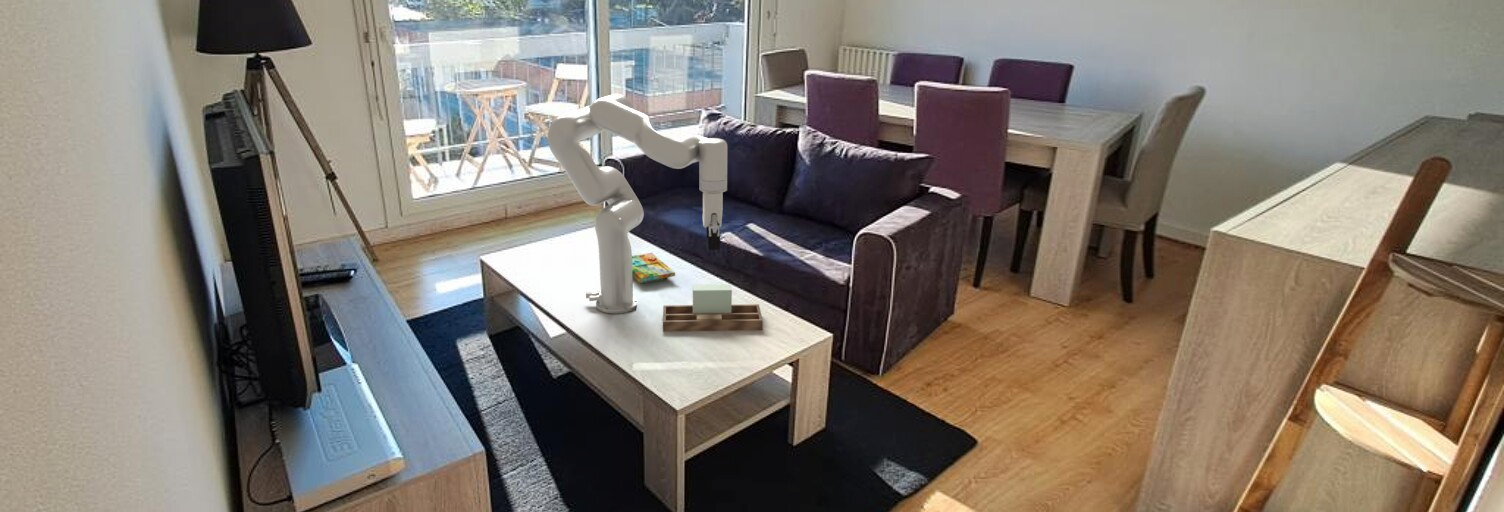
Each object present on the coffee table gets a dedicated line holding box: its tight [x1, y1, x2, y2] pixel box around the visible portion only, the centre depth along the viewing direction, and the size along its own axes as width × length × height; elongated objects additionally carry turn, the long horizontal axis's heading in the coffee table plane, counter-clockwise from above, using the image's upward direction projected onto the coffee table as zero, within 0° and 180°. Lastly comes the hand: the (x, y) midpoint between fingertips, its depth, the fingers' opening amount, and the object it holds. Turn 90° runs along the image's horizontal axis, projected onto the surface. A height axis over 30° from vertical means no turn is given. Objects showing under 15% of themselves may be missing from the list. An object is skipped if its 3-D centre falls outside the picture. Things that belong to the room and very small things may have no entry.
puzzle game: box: [632, 252, 676, 285], centre depth 259 cm, size 12×5×20 cm
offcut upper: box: [697, 314, 722, 320], centre depth 221 cm, size 7×3×2 cm, turn 95°
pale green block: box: [692, 284, 733, 314], centre depth 225 cm, size 11×4×10 cm, turn 95°
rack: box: [662, 303, 764, 333], centre depth 225 cm, size 28×11×4 cm, turn 95°
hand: (713, 243), depth 219 cm, fingers open, 9 cm apart
